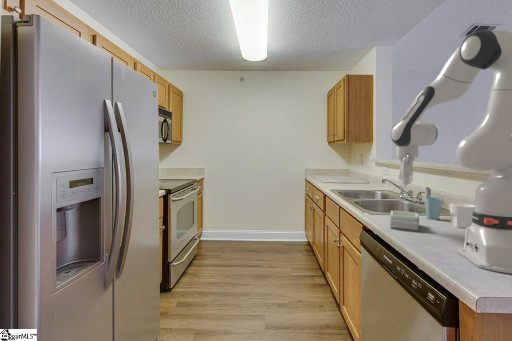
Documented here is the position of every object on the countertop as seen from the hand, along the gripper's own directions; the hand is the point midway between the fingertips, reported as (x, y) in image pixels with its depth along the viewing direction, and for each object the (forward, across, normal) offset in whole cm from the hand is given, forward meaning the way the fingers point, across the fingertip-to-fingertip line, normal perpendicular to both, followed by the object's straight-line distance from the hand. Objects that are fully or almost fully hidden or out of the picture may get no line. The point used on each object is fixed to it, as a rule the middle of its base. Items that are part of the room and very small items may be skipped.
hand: (405, 183), depth 137 cm
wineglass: (+6, 0, 0) cm, 6 cm away
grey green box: (+19, 0, 0) cm, 19 cm away
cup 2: (+19, +12, -24) cm, 33 cm away
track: (+19, +3, 0) cm, 19 cm away
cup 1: (+19, +24, -14) cm, 34 cm away
